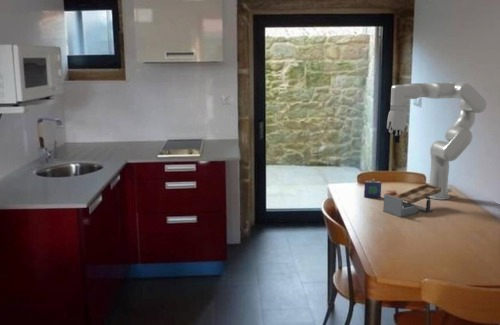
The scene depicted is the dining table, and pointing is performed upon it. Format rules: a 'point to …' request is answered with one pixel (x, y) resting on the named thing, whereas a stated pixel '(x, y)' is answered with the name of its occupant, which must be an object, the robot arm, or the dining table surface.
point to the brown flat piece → (416, 193)
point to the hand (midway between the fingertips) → (395, 142)
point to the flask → (372, 189)
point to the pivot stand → (423, 207)
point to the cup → (398, 206)
